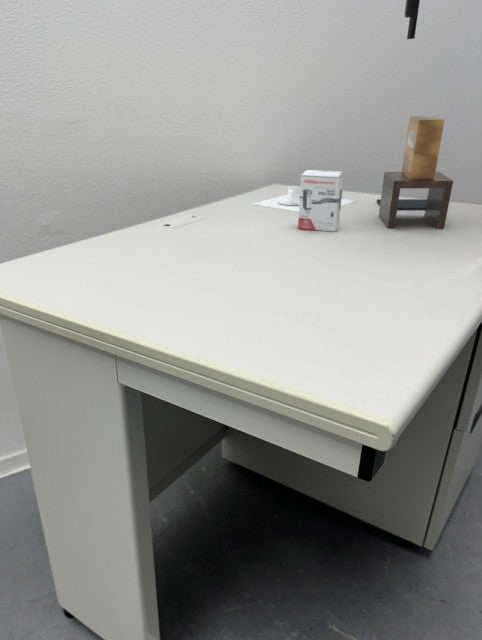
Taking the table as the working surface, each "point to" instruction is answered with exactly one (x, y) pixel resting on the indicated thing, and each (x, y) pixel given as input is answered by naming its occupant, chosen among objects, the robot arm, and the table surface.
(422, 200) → the mat
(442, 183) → the shelf
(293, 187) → the teacup and saucer
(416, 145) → the tape carton
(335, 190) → the ink box
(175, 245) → the table surface
